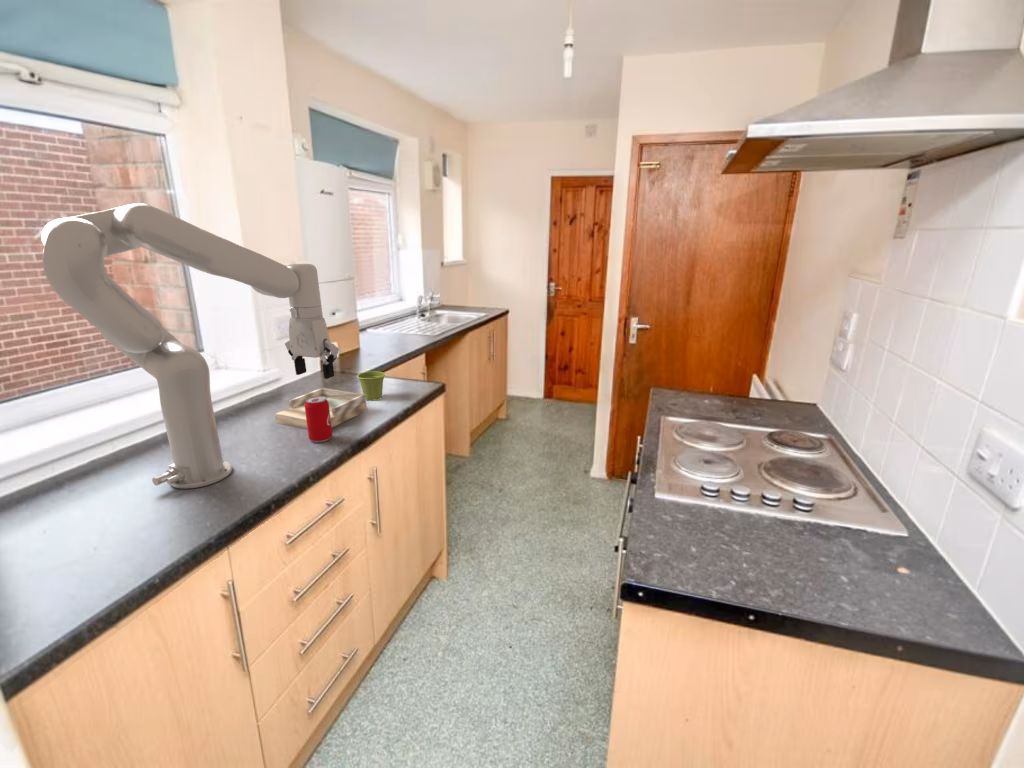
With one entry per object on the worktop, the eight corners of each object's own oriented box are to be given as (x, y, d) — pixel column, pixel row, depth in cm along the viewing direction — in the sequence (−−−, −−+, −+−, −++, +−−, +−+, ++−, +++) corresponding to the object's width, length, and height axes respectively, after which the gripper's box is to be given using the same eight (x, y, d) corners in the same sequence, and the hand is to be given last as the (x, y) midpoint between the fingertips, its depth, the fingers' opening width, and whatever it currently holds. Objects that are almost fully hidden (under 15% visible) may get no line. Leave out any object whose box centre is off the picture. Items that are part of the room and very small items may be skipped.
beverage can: (336, 435, 136) (332, 395, 133) (326, 444, 131) (321, 403, 127) (315, 434, 137) (311, 394, 134) (304, 443, 131) (299, 402, 128)
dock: (322, 432, 138) (320, 414, 137) (276, 422, 145) (274, 406, 143) (366, 410, 156) (365, 394, 155) (323, 402, 163) (322, 387, 161)
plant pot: (353, 400, 165) (351, 377, 162) (369, 392, 174) (367, 370, 171) (377, 403, 162) (375, 379, 160) (391, 395, 171) (390, 372, 169)
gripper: (270, 312, 123) (280, 375, 128) (322, 317, 117) (330, 383, 122) (292, 308, 130) (301, 368, 135) (343, 312, 124) (350, 375, 129)
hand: (315, 375), depth 129 cm, fingers open, 9 cm apart
